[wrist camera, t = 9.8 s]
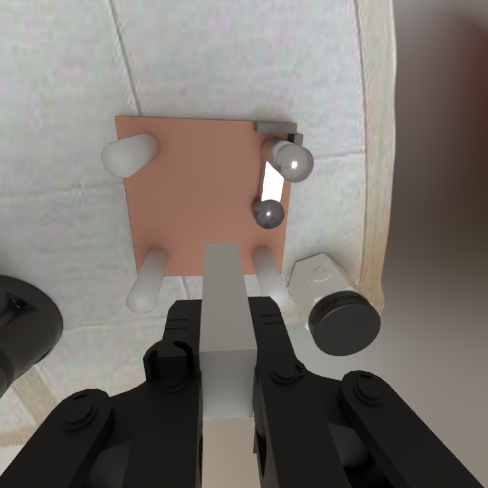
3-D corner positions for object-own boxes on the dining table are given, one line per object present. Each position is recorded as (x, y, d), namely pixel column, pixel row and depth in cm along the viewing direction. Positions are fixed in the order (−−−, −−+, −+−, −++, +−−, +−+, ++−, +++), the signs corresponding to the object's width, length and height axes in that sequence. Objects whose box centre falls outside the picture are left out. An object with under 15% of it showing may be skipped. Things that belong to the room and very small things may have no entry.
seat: (141, 269, 40) (114, 327, 29) (120, 116, 32) (72, 117, 21) (278, 267, 42) (300, 320, 31) (292, 122, 34) (330, 127, 23)
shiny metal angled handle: (277, 221, 37) (298, 257, 28) (250, 220, 36) (262, 256, 27) (290, 138, 32) (320, 148, 23) (259, 135, 32) (278, 144, 23)
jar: (337, 245, 42) (380, 292, 31) (346, 288, 45) (388, 343, 34) (280, 265, 42) (303, 318, 31) (294, 306, 46) (318, 366, 35)
